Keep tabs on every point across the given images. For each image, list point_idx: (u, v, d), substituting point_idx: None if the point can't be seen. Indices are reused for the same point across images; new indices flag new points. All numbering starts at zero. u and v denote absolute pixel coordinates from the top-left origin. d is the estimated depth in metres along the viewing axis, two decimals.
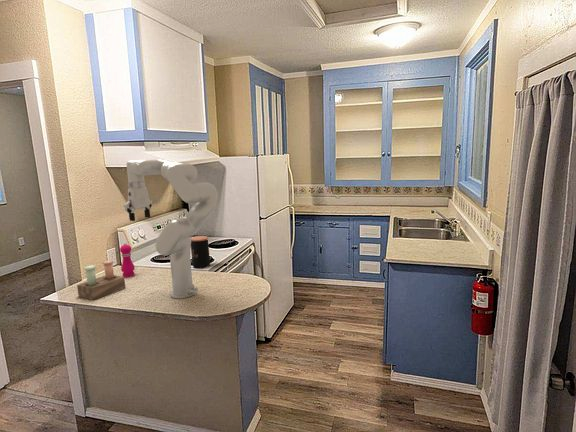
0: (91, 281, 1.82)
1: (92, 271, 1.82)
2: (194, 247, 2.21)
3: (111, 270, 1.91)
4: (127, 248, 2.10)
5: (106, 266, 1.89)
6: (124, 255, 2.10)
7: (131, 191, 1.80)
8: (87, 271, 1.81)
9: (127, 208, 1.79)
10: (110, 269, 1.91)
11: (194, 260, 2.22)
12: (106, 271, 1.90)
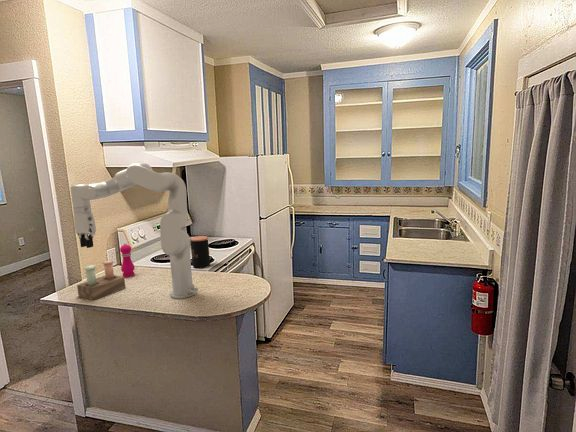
0: (91, 281, 1.82)
1: (92, 271, 1.82)
2: (194, 247, 2.21)
3: (111, 270, 1.91)
4: (127, 248, 2.10)
5: (106, 266, 1.89)
6: (124, 255, 2.10)
7: (91, 215, 1.77)
8: (87, 271, 1.81)
9: None
10: (110, 269, 1.91)
11: (194, 260, 2.22)
12: (106, 271, 1.90)
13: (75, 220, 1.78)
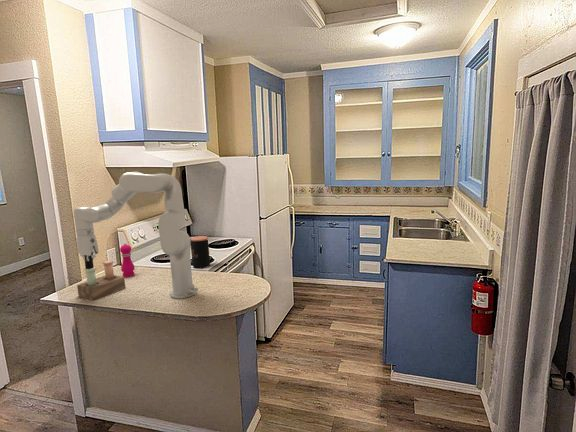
0: (91, 283, 1.82)
1: (92, 273, 1.82)
2: (194, 247, 2.21)
3: (111, 270, 1.91)
4: (127, 248, 2.10)
5: (106, 266, 1.89)
6: (124, 255, 2.10)
7: (93, 237, 1.79)
8: (87, 273, 1.81)
9: None
10: (110, 269, 1.91)
11: (194, 260, 2.22)
12: (106, 271, 1.90)
13: (78, 242, 1.80)
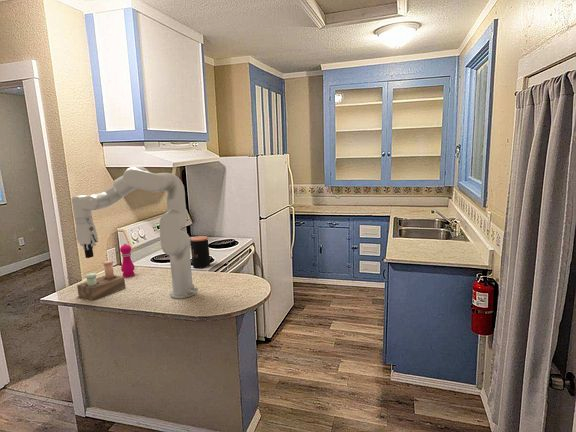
0: None
1: (93, 279, 1.82)
2: (194, 247, 2.21)
3: (111, 270, 1.91)
4: (127, 248, 2.10)
5: (106, 266, 1.89)
6: (124, 255, 2.10)
7: (92, 225, 1.78)
8: (88, 279, 1.81)
9: None
10: (110, 269, 1.91)
11: (194, 260, 2.22)
12: (106, 271, 1.90)
13: (77, 231, 1.79)
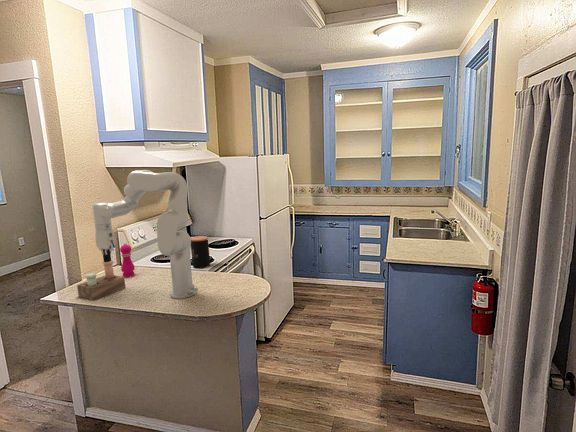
0: None
1: (93, 279, 1.82)
2: (194, 247, 2.21)
3: (111, 270, 1.91)
4: (127, 248, 2.10)
5: (106, 266, 1.89)
6: (124, 255, 2.10)
7: (111, 231, 1.87)
8: (88, 279, 1.81)
9: None
10: (110, 269, 1.91)
11: (194, 260, 2.22)
12: (106, 271, 1.90)
13: (96, 236, 1.88)
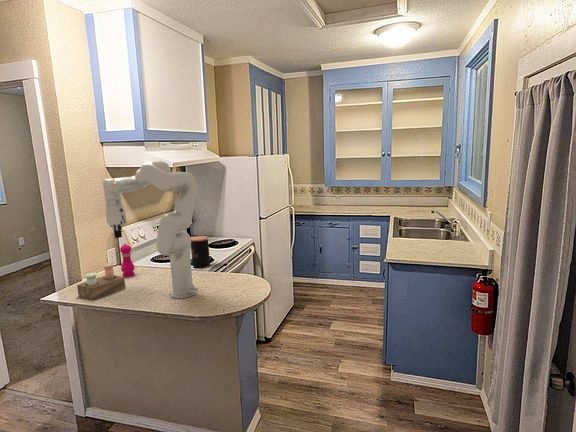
0: None
1: (93, 279, 1.82)
2: (194, 247, 2.21)
3: (111, 273, 1.91)
4: (127, 248, 2.10)
5: (106, 270, 1.90)
6: (124, 255, 2.10)
7: (122, 207, 1.89)
8: (88, 279, 1.81)
9: None
10: (111, 273, 1.91)
11: (194, 260, 2.22)
12: (106, 274, 1.90)
13: (107, 212, 1.89)
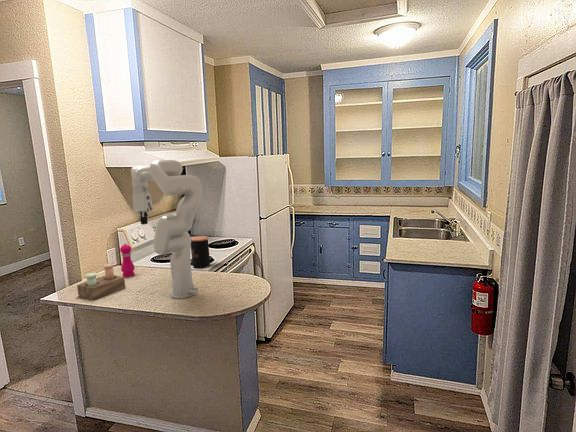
0: None
1: (93, 279, 1.82)
2: (194, 247, 2.21)
3: (111, 273, 1.91)
4: (127, 248, 2.10)
5: (106, 270, 1.90)
6: (124, 255, 2.10)
7: (149, 194, 1.95)
8: (88, 279, 1.81)
9: None
10: (111, 273, 1.91)
11: (194, 260, 2.22)
12: (106, 274, 1.90)
13: (134, 199, 1.95)
